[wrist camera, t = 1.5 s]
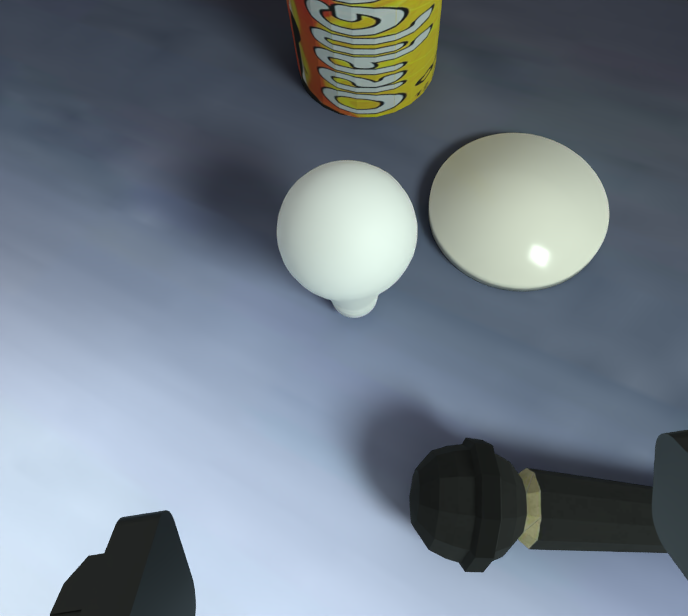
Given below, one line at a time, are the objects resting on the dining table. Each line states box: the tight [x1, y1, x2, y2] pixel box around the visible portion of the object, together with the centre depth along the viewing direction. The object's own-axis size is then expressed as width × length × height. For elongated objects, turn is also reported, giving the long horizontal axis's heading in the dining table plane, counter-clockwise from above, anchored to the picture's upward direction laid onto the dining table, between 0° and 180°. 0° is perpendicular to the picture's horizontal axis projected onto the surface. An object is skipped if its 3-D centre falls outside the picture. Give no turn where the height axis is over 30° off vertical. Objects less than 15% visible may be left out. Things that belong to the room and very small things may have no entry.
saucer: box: [428, 133, 609, 291], centre depth 36 cm, size 10×10×1 cm
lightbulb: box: [277, 160, 417, 318], centre depth 29 cm, size 6×6×11 cm
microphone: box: [410, 438, 667, 572], centre depth 28 cm, size 6×6×20 cm
